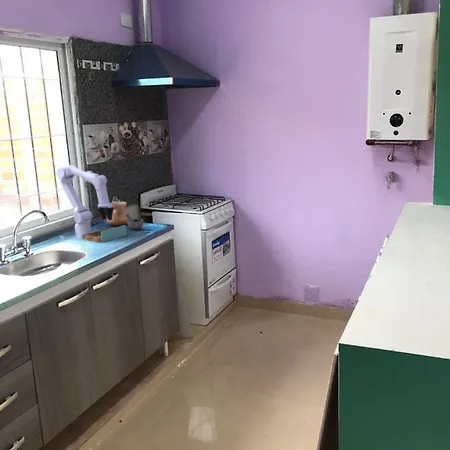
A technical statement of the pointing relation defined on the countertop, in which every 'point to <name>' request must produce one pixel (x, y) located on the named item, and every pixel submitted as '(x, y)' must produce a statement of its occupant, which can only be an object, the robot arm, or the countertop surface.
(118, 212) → the ceramic jug
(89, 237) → the tray
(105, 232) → the panel
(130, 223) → the mortar and pestle
